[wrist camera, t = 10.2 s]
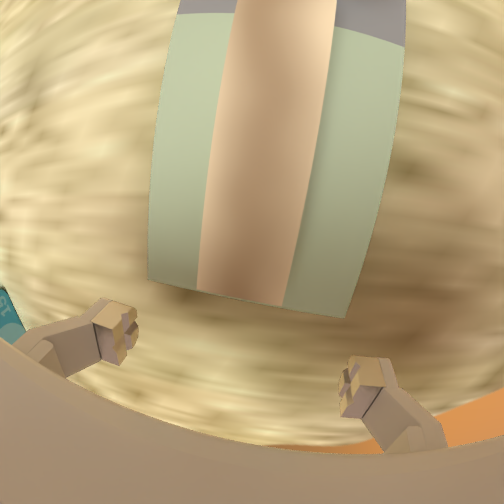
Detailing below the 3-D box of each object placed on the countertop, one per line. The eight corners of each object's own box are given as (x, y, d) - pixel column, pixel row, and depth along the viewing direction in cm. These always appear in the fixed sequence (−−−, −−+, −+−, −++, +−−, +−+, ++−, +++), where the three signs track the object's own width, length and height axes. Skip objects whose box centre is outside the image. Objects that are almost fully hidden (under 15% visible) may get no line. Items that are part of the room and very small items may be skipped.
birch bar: (330, 3, 11) (339, -32, 7) (283, 269, 17) (281, 306, 13) (258, -7, 11) (248, -43, 7) (216, 256, 17) (196, 289, 13)
